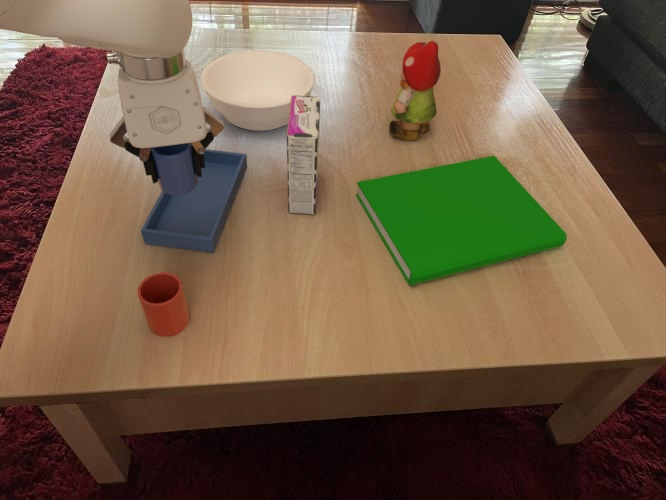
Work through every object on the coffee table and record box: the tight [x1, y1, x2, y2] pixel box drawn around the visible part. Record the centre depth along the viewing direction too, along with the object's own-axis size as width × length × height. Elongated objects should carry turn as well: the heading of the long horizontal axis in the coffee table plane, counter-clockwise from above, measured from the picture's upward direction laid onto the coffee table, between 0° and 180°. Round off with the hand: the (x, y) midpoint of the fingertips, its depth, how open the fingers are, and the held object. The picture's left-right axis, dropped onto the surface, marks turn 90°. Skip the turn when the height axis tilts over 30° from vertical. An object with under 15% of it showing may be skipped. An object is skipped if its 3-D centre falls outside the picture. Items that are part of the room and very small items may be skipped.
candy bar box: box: [286, 95, 321, 216], centre depth 87 cm, size 11×5×16 cm, turn 179°
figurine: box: [388, 40, 442, 141], centre depth 101 cm, size 11×9×20 cm
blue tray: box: [140, 148, 248, 254], centre depth 89 cm, size 22×11×3 cm, turn 173°
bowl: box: [200, 49, 316, 131], centre depth 107 cm, size 22×22×8 cm
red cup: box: [136, 271, 190, 338], centre depth 71 cm, size 6×6×7 cm
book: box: [355, 155, 568, 286], centre depth 90 cm, size 22×28×3 cm
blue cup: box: [150, 143, 198, 195], centre depth 76 cm, size 6×6×7 cm
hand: (176, 173), depth 77 cm, fingers closed on blue cup, 5 cm apart
